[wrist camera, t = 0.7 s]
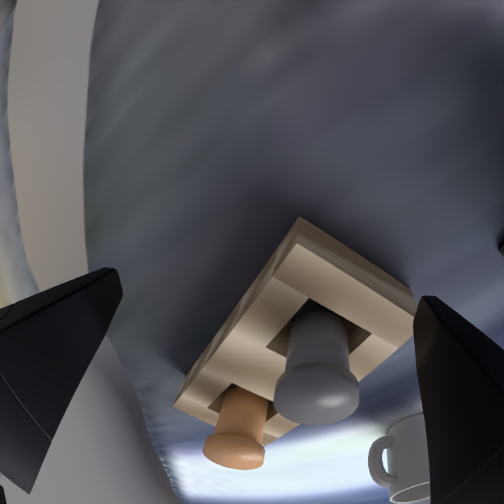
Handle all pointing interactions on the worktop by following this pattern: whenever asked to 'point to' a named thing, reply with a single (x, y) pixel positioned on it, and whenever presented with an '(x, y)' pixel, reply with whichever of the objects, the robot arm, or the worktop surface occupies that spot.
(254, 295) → the housing
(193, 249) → the worktop surface
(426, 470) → the cup
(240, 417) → the mushroom knob terracotta
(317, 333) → the grey mushroom knob
